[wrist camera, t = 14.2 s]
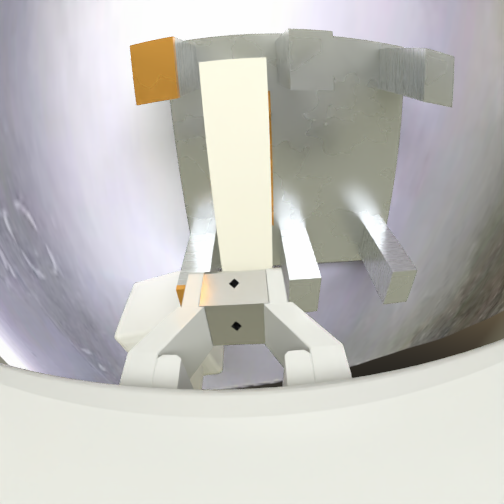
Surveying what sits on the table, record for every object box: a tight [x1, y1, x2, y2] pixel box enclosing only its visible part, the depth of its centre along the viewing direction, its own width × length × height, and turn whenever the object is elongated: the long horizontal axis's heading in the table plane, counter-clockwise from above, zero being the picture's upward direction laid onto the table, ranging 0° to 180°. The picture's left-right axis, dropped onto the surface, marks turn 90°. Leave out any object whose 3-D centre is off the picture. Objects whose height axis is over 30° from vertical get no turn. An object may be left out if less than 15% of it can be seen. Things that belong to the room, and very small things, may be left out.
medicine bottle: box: [115, 270, 224, 390], centre depth 24 cm, size 7×7×12 cm
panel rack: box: [130, 29, 454, 312], centre depth 18 cm, size 16×18×8 cm
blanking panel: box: [199, 57, 273, 271], centre depth 17 cm, size 2×14×8 cm, turn 3°
